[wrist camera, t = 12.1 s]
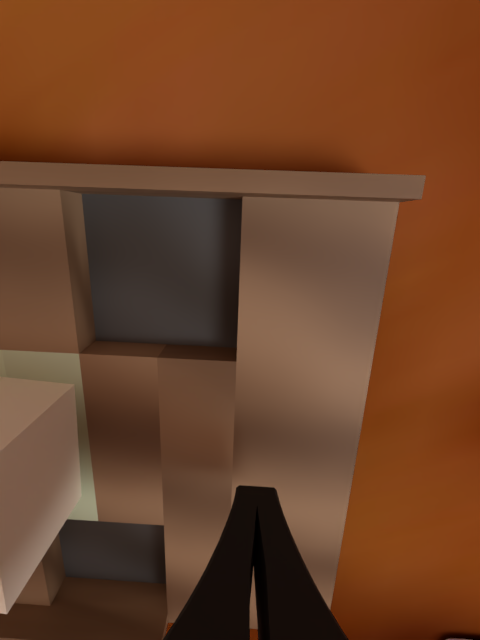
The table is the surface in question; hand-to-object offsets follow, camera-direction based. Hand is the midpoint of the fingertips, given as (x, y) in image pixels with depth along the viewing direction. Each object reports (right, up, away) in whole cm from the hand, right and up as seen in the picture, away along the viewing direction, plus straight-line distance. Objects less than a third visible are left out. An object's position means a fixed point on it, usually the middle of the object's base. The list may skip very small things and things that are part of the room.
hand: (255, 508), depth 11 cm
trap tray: (-5, +2, +4) cm, 6 cm away
